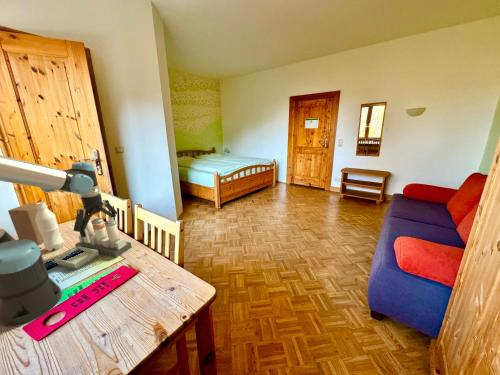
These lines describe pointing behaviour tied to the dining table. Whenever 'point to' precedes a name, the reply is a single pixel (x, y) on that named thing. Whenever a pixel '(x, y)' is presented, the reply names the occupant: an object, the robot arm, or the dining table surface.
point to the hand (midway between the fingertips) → (101, 234)
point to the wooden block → (26, 222)
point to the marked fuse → (99, 230)
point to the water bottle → (48, 227)
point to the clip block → (106, 246)
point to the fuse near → (112, 232)
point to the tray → (77, 258)
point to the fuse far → (89, 229)
